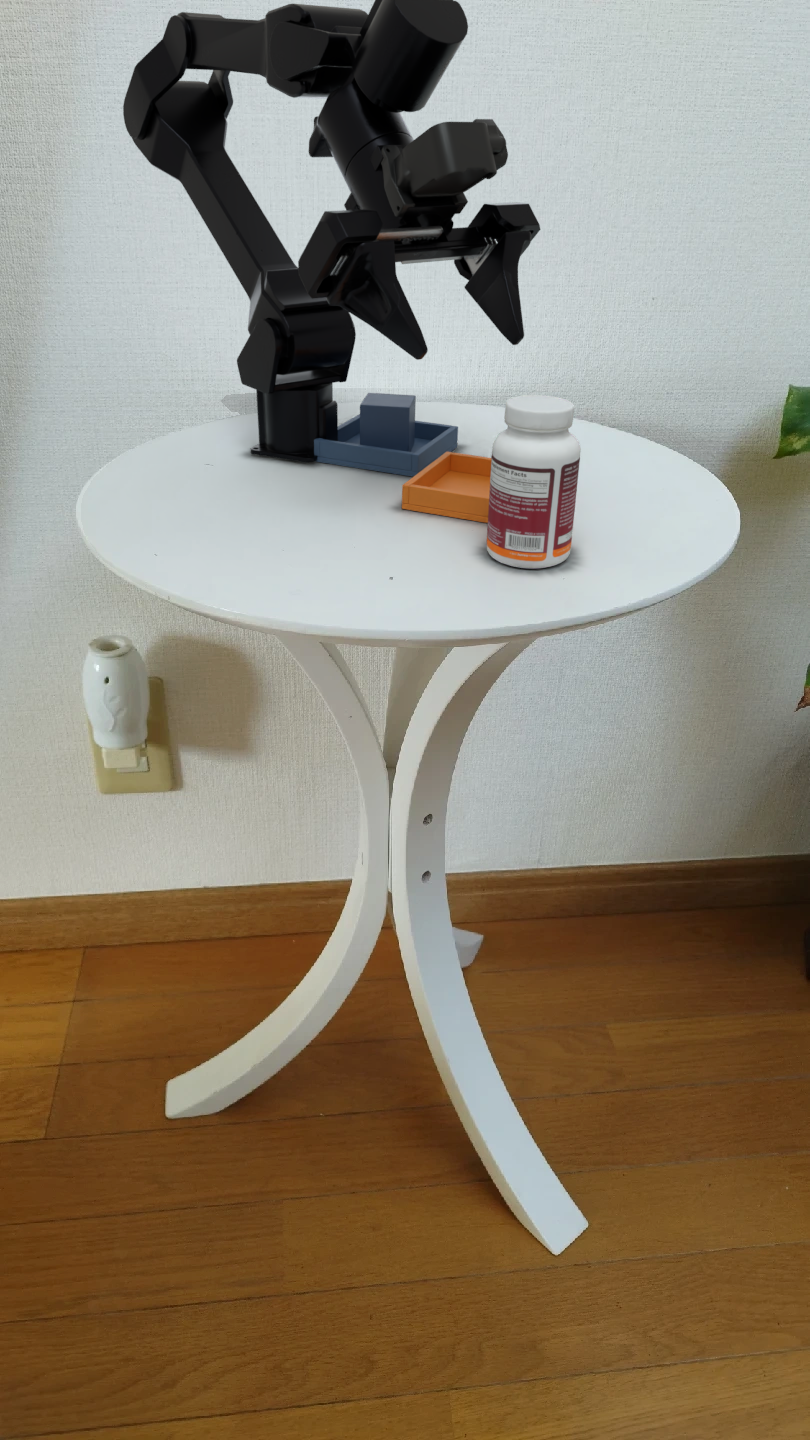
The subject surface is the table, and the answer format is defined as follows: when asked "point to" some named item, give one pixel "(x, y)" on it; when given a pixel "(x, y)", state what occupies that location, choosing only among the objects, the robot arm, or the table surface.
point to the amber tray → (451, 487)
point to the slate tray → (350, 453)
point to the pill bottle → (533, 483)
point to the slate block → (388, 421)
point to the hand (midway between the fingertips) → (472, 348)
